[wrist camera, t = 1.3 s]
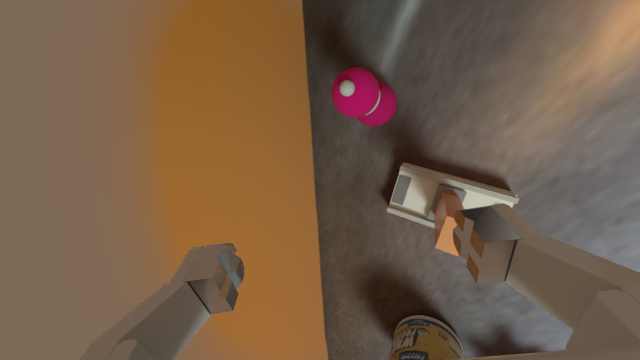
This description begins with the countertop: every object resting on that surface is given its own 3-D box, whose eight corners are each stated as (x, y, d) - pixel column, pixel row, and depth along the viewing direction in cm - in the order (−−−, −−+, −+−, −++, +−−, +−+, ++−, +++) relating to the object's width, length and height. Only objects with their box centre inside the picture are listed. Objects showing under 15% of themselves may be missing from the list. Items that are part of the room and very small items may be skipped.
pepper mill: (358, 126, 48) (313, 119, 30) (361, 87, 47) (316, 54, 29) (397, 127, 45) (374, 120, 27) (401, 85, 44) (380, 49, 26)
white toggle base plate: (511, 191, 40) (520, 196, 36) (489, 241, 42) (495, 251, 38) (403, 161, 46) (401, 164, 42) (389, 207, 48) (386, 213, 44)
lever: (466, 191, 39) (483, 217, 26) (452, 225, 41) (462, 267, 28) (439, 183, 41) (442, 205, 27) (427, 216, 42) (424, 252, 29)
